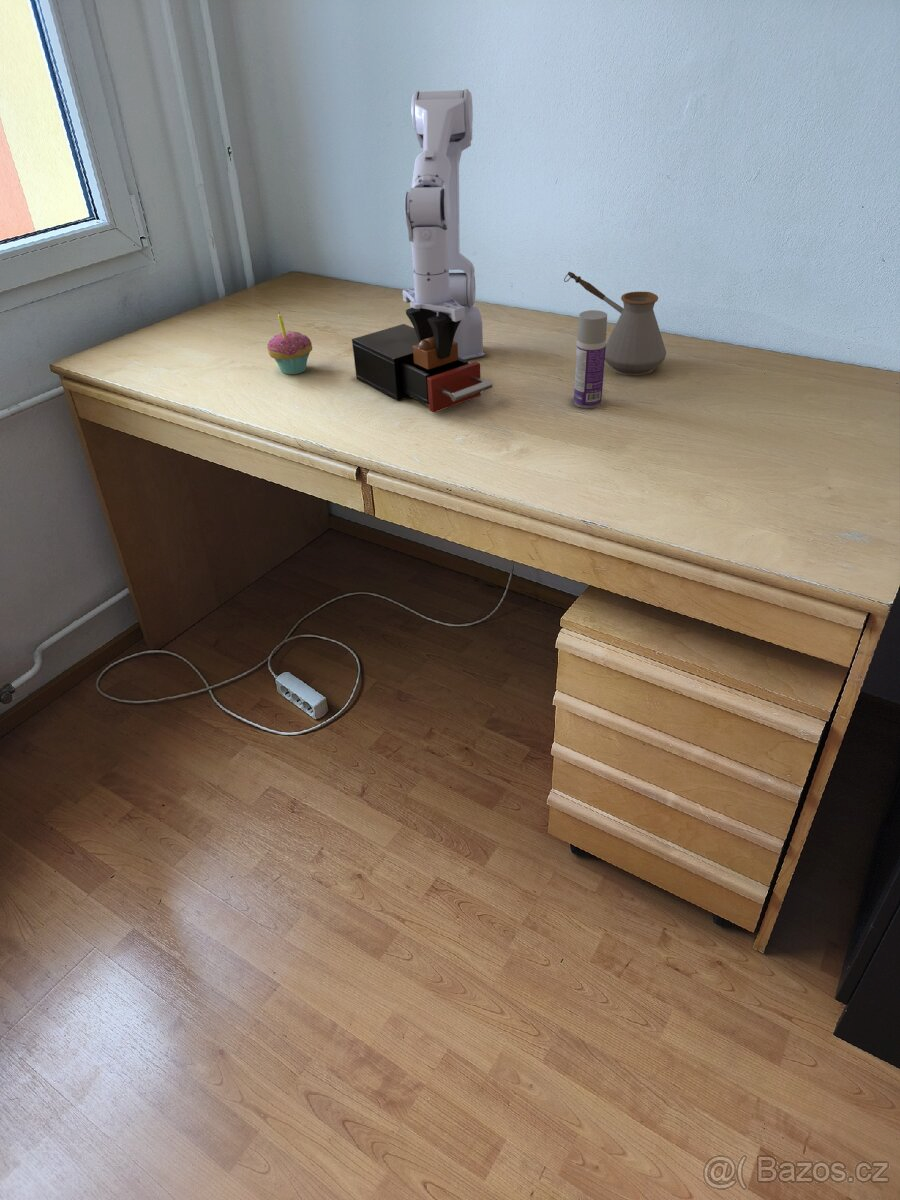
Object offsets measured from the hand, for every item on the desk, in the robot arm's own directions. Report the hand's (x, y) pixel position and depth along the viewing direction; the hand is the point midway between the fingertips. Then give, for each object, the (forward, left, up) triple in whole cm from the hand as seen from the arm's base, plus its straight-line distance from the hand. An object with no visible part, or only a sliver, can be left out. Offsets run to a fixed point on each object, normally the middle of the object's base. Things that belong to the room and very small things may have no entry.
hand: (435, 353), depth 136 cm
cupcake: (+20, -26, -8) cm, 34 cm away
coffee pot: (-35, 0, -8) cm, 36 cm away
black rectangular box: (+3, -11, -8) cm, 14 cm away
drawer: (0, +2, -7) cm, 7 cm away
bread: (0, 0, -1) cm, 1 cm away
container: (-22, +14, -8) cm, 27 cm away
